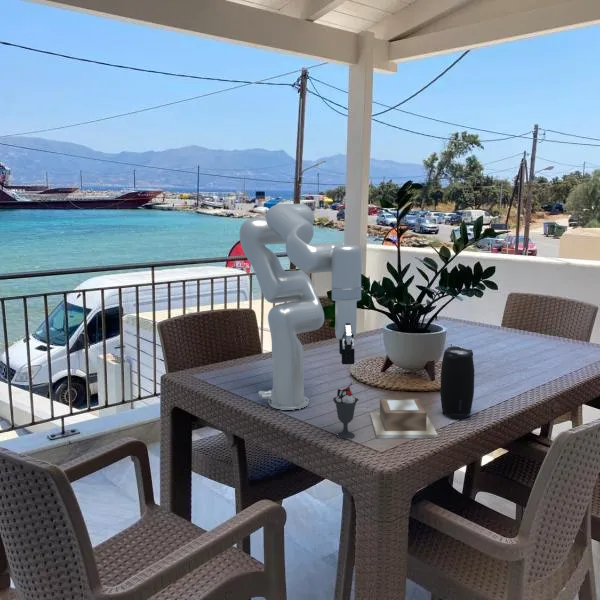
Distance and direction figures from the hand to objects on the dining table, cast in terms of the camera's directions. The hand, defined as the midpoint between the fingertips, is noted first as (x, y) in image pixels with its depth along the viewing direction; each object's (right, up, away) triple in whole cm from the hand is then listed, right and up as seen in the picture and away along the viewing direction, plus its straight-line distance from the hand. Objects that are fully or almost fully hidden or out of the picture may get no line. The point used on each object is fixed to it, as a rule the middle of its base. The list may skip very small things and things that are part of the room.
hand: (346, 358), depth 148 cm
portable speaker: (+33, -18, +17) cm, 42 cm away
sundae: (0, -21, +4) cm, 22 cm away
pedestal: (+16, -20, +10) cm, 27 cm away
